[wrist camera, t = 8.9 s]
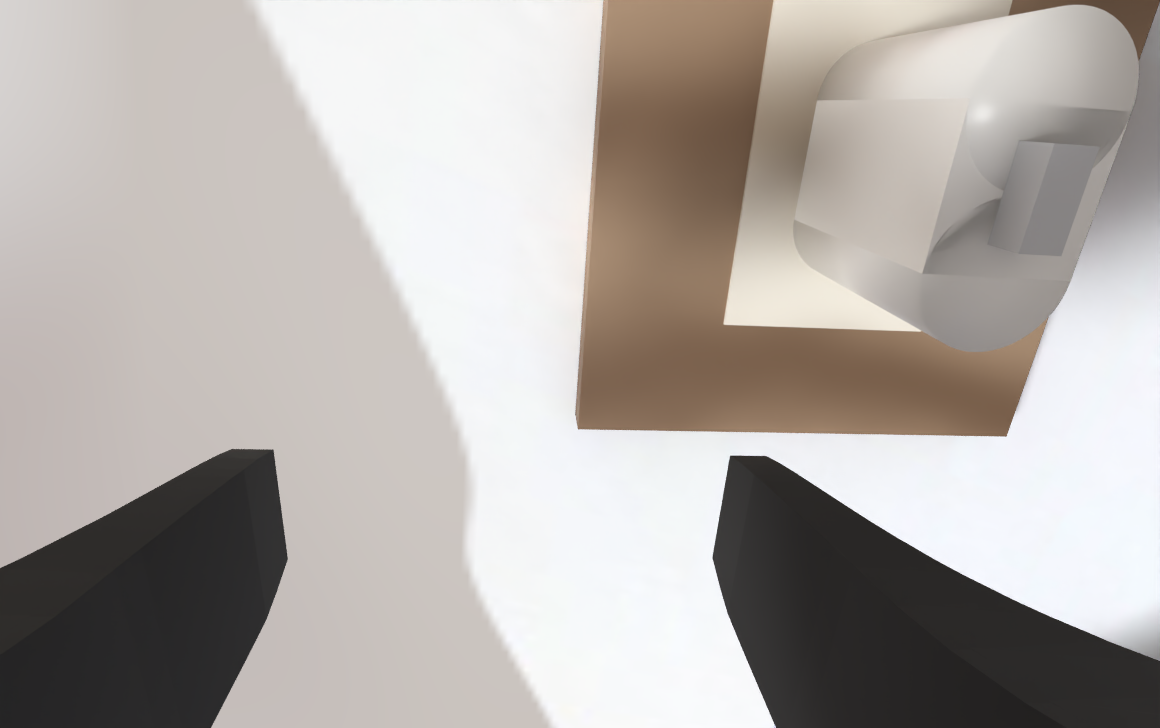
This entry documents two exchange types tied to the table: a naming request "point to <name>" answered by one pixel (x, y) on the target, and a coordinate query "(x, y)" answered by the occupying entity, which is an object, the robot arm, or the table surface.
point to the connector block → (966, 168)
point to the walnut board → (756, 233)
